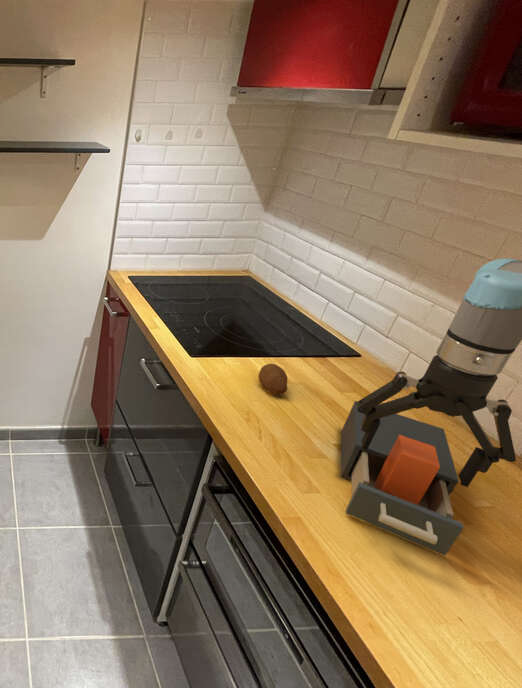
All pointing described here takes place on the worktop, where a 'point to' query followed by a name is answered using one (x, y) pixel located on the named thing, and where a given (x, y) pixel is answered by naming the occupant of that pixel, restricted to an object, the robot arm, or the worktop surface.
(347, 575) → the worktop surface
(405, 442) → the box
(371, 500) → the drawer
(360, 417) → the cabinet
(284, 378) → the potato
